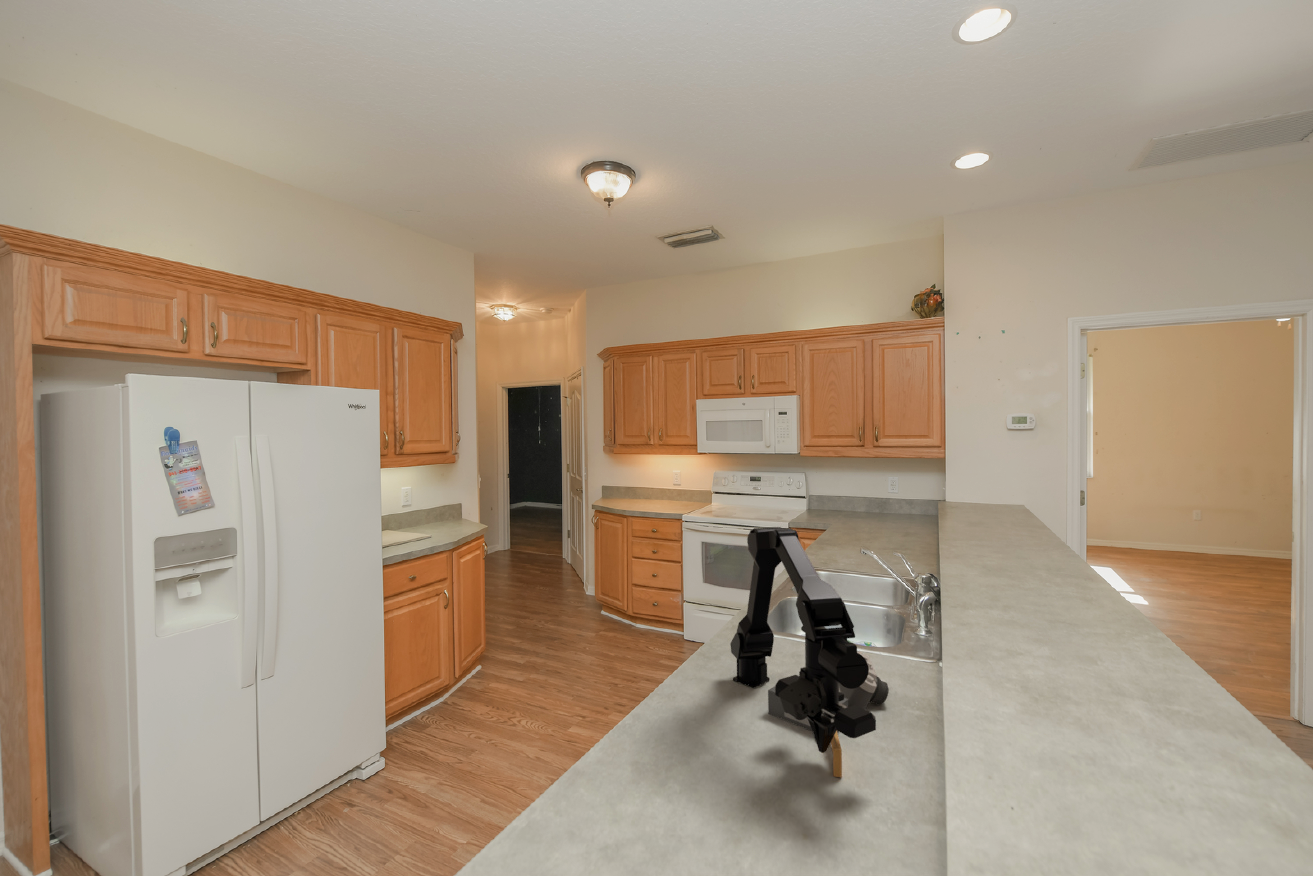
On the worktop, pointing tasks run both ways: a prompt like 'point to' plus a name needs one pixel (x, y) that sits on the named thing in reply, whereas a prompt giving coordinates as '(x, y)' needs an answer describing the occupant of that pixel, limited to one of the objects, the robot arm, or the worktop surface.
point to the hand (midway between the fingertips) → (822, 751)
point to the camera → (866, 689)
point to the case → (777, 711)
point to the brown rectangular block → (836, 756)
